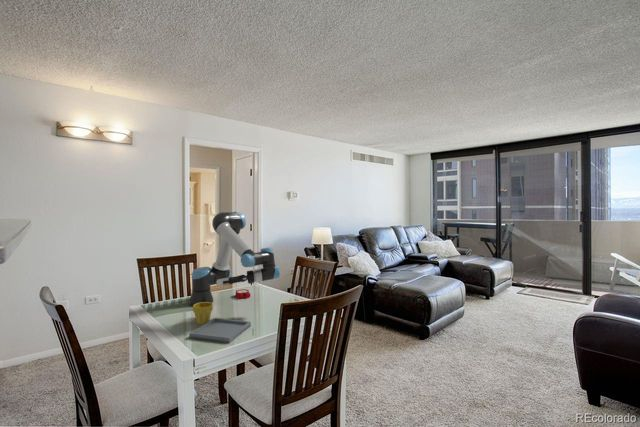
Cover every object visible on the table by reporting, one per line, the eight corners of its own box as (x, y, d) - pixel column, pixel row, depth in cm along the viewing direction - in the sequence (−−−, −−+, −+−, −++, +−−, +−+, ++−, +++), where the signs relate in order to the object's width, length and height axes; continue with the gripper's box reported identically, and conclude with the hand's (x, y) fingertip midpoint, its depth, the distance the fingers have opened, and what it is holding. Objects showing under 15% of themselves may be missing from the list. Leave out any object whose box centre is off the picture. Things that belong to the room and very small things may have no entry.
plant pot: (206, 326, 172) (206, 308, 172) (189, 324, 174) (189, 306, 174) (216, 319, 182) (216, 302, 182) (199, 318, 184) (199, 301, 184)
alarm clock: (247, 288, 236) (252, 288, 223) (248, 297, 235) (252, 298, 222) (233, 290, 232) (237, 290, 219) (233, 298, 231) (237, 299, 217)
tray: (214, 322, 177) (214, 317, 177) (250, 326, 172) (250, 321, 172) (189, 338, 156) (189, 333, 156) (229, 343, 150) (229, 338, 150)
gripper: (256, 284, 177) (217, 291, 171) (253, 281, 201) (218, 287, 194) (254, 270, 178) (215, 277, 171) (251, 269, 201) (216, 275, 195)
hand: (217, 282), depth 183 cm, fingers open, 13 cm apart
